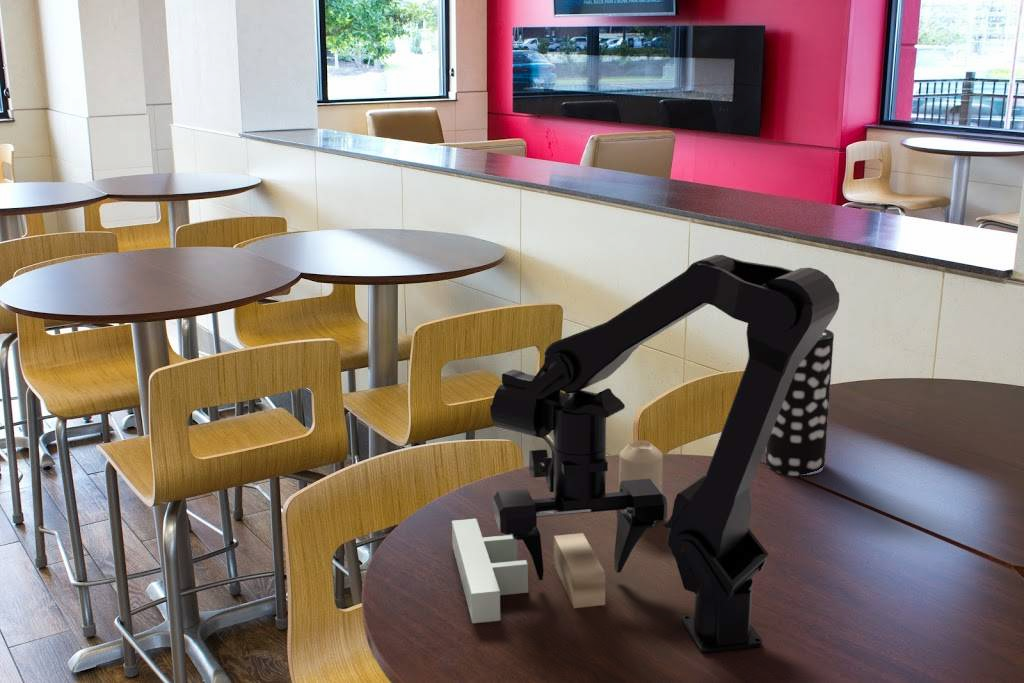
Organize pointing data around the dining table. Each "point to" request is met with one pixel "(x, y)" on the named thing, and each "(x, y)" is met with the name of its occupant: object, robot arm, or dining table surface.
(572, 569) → the tan wooden block
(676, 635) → the dining table surface
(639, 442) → the candle
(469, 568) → the rail
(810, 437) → the spotted tube
